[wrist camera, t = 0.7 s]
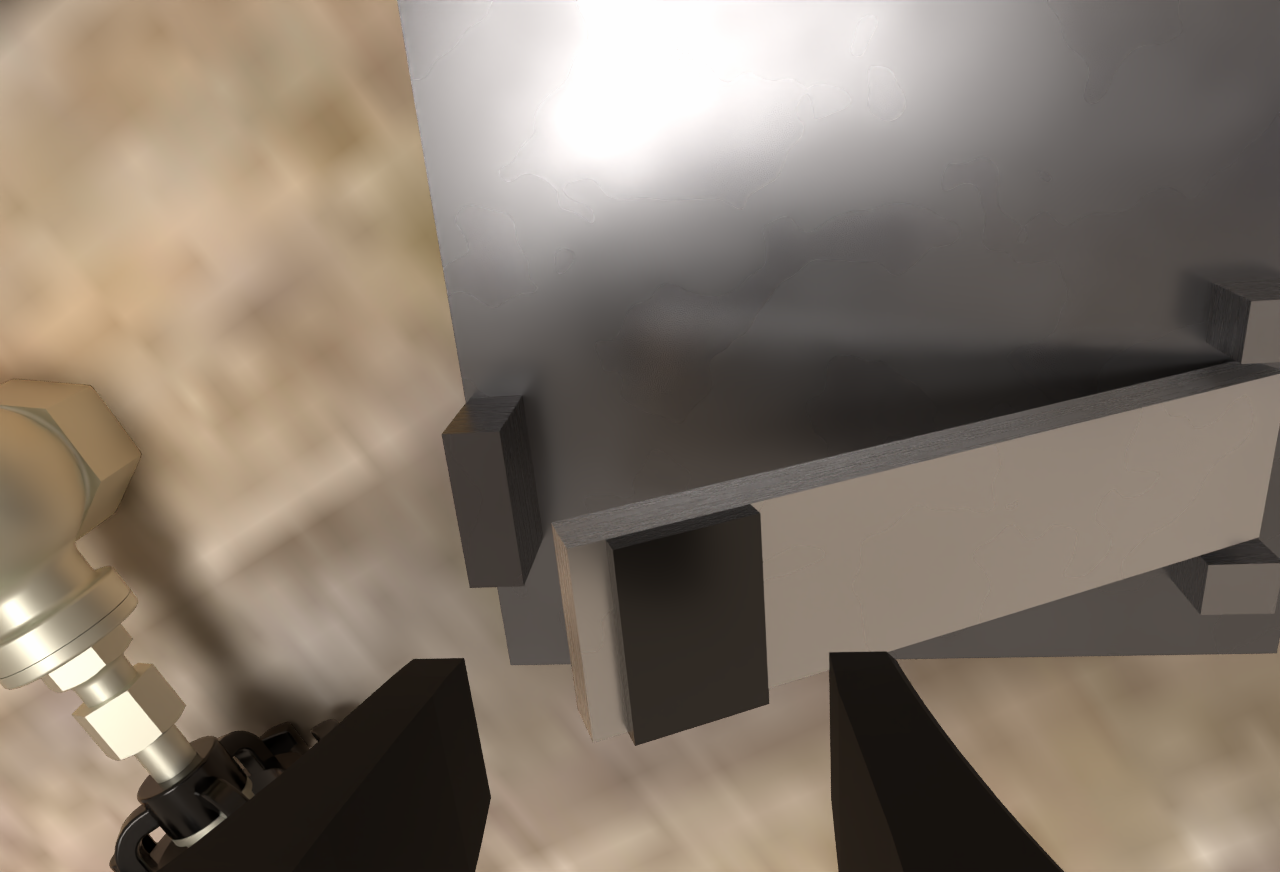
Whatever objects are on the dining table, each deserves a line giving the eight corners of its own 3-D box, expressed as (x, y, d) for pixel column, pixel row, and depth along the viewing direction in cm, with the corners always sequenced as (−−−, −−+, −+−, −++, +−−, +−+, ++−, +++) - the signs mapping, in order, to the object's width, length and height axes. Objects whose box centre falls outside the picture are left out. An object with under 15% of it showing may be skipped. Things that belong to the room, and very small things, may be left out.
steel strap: (1243, 358, 15) (1307, 376, 14) (1217, 518, 16) (1275, 544, 16) (550, 522, 12) (573, 560, 11) (577, 708, 13) (599, 757, 12)
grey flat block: (1454, -995, 12) (1885, -1629, 7) (1203, 571, 20) (1332, 715, 16) (336, -753, 14) (142, -1142, 9) (539, 589, 22) (489, 721, 18)
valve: (-86, 425, 22) (208, 784, 26) (-394, 564, 16) (46, 1008, 20) (116, 310, 21) (400, 711, 24) (-143, 416, 15) (288, 931, 18)
